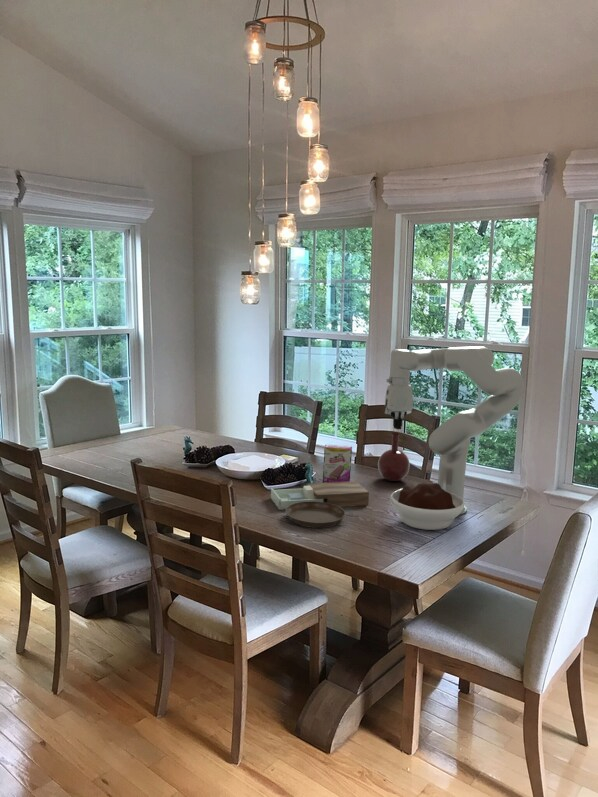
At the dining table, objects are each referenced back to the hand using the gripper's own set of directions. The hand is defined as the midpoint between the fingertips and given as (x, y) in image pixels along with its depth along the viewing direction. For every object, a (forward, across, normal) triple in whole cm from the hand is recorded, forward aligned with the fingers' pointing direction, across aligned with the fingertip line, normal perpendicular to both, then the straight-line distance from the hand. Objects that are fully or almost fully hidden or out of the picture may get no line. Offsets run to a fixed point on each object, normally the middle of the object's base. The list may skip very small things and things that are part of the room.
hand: (397, 428), depth 263 cm
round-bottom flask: (+26, +8, +17) cm, 32 cm away
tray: (+26, -41, -2) cm, 49 cm away
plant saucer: (+27, -40, -20) cm, 52 cm away
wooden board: (+26, -25, -3) cm, 36 cm away
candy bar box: (+26, -19, +15) cm, 35 cm away
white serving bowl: (+27, -5, -34) cm, 43 cm away
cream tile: (+23, -35, -2) cm, 42 cm away
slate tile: (+23, -41, -2) cm, 47 cm away
